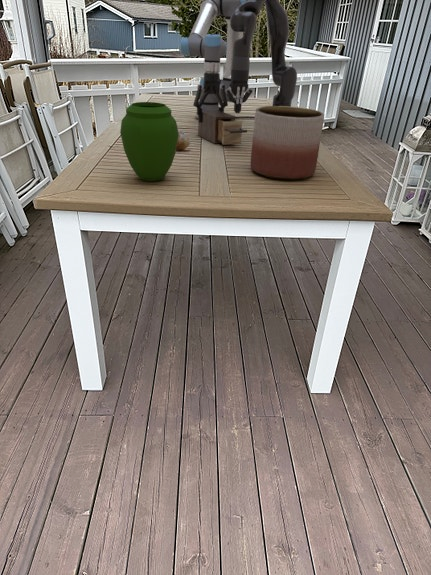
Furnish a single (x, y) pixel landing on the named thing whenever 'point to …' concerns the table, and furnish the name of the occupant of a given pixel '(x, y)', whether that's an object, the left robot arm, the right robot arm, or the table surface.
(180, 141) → the seashell
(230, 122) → the drawer
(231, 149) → the table surface
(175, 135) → the vase
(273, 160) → the planter
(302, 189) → the table surface
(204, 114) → the small wooden cabinet
